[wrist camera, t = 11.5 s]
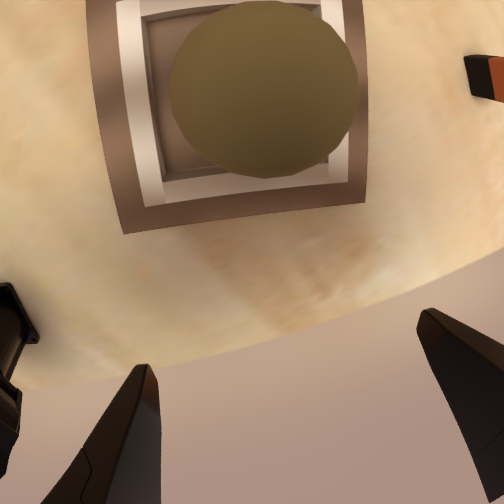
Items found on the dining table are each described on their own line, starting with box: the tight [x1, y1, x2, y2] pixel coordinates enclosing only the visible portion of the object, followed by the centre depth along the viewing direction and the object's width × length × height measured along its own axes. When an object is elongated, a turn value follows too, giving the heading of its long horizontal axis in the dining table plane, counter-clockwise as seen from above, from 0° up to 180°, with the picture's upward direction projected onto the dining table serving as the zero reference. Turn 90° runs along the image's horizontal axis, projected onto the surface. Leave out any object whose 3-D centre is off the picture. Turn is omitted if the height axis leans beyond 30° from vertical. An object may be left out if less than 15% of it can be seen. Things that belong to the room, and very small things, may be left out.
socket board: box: [86, 0, 368, 234], centre depth 16 cm, size 16×16×3 cm
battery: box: [464, 55, 504, 103], centre depth 15 cm, size 2×3×5 cm, turn 21°
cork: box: [168, 1, 359, 179], centre depth 11 cm, size 6×6×11 cm
